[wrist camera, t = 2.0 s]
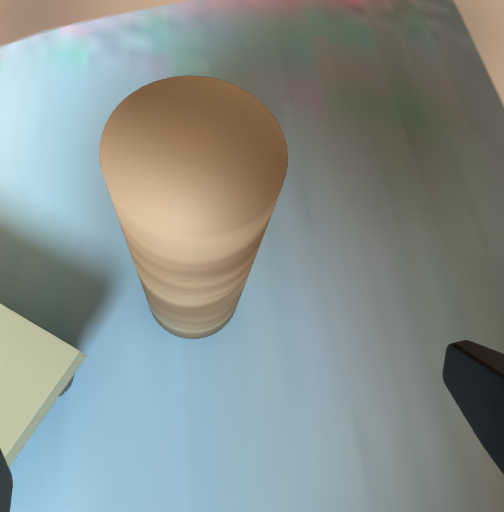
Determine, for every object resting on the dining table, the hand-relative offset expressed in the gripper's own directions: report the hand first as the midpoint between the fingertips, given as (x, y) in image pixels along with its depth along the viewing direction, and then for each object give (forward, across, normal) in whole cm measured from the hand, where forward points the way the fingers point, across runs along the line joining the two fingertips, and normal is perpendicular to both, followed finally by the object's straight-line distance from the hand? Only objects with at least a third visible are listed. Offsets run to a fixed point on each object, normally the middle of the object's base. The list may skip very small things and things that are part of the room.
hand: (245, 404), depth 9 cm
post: (+13, 0, +5) cm, 14 cm away
